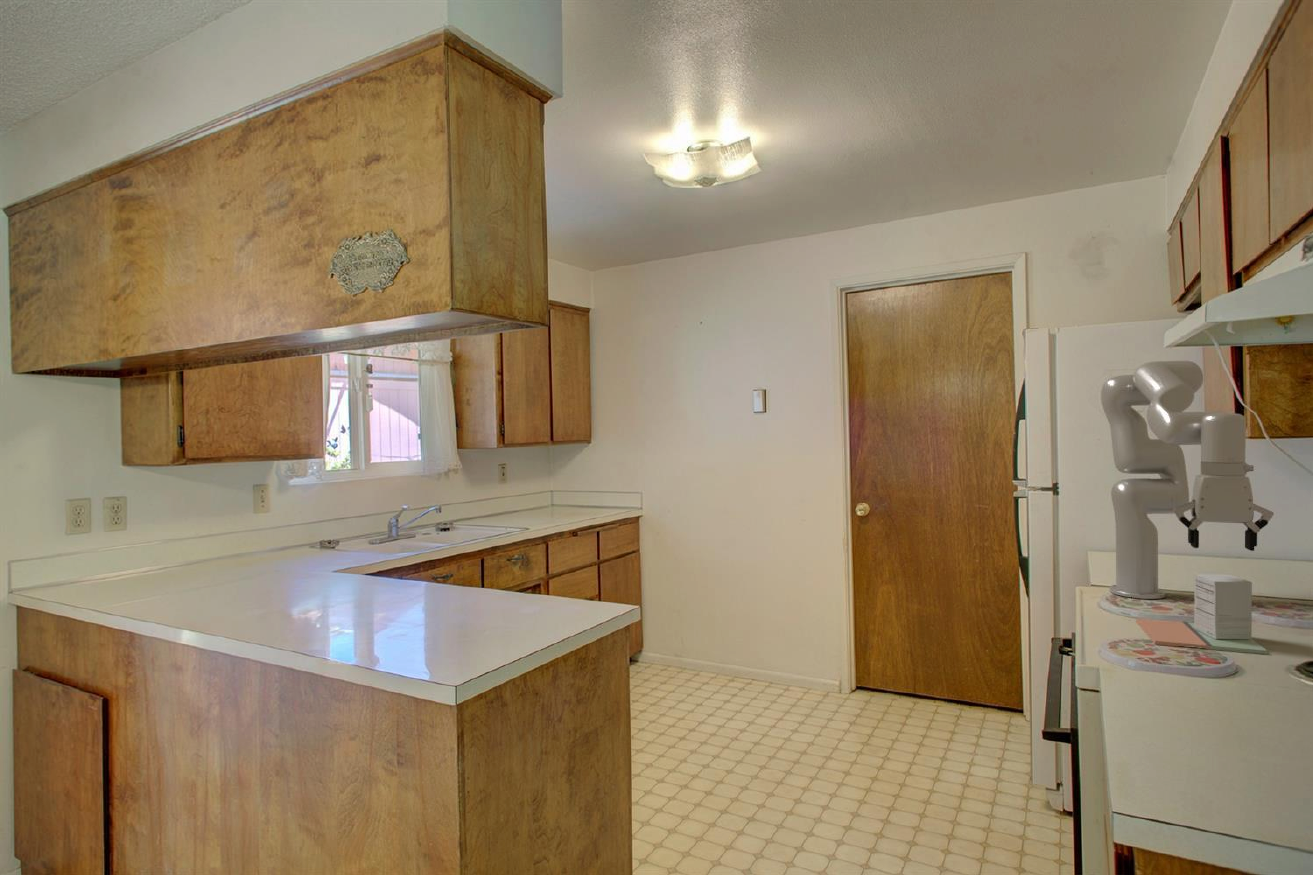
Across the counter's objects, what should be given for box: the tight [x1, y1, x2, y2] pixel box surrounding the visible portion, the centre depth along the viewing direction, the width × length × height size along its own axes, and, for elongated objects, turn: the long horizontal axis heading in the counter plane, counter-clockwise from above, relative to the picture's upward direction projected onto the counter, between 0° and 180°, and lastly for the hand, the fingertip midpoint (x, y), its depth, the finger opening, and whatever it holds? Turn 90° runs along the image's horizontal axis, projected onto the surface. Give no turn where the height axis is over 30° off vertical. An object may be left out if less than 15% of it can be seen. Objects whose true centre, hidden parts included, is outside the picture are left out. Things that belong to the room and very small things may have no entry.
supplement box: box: [1193, 573, 1253, 639], centre depth 152 cm, size 7×7×13 cm
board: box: [1135, 617, 1268, 655], centre depth 154 cm, size 18×19×1 cm
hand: (1221, 548), depth 152 cm, fingers open, 9 cm apart
